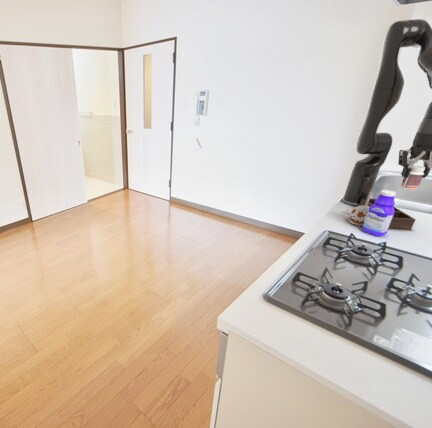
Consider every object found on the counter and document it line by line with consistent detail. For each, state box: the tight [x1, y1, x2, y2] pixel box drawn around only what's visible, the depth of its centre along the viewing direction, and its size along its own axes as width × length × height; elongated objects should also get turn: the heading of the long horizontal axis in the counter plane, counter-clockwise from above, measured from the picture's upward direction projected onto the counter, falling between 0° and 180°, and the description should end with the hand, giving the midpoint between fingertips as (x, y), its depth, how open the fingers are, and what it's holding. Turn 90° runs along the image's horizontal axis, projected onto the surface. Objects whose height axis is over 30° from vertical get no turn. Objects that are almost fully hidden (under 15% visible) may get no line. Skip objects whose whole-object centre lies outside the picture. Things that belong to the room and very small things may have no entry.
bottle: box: [362, 189, 397, 237], centre depth 106 cm, size 7×6×17 cm
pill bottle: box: [400, 165, 425, 191], centre depth 106 cm, size 5×5×8 cm
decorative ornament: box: [347, 189, 374, 227], centre depth 114 cm, size 8×8×15 cm
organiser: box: [359, 198, 416, 231], centre depth 120 cm, size 21×8×5 cm, turn 167°
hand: (413, 177), depth 106 cm, fingers closed on pill bottle, 4 cm apart
